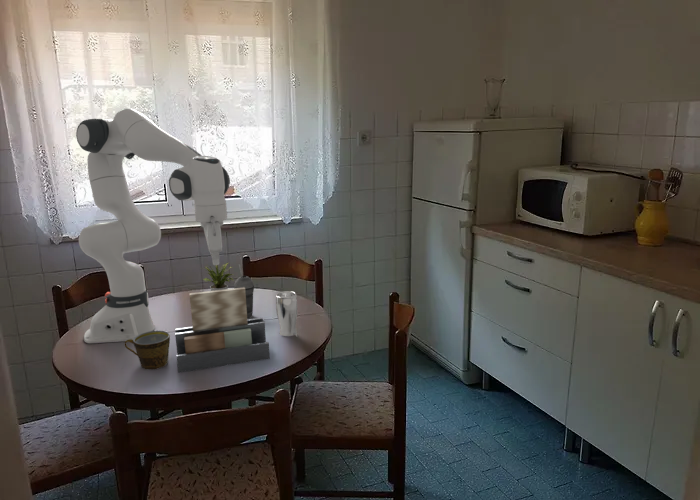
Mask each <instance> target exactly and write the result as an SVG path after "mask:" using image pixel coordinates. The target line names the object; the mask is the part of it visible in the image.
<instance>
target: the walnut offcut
mask: <svg viewBox="0 0 700 500" xmlns="http://www.w3.org/2000/svg"><path fill="white" fill-rule="evenodd" d="M184 341H185V351H186V354H187V353H194V352H201V351H208V350H215V349H222V348H225V339H224V332H219V333H212V334H204V335H197V336H189V337H184Z"/></svg>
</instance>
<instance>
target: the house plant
mask: <svg viewBox="0 0 700 500" xmlns="http://www.w3.org/2000/svg"><path fill="white" fill-rule="evenodd" d="M227 265H229V262H227V263H224V264H222V266H220V268H219V265H214V266H215V270H214V269H213V268H212V267H210V265H208V264H207V265H205V266H204V268H202V267H201V269H203V270H205V271H207V273H206V274H208V275H209V276H210V277H211V279H210V278H208V277H205V278H203V281H206V282H211V283H212V284H211V285H210V286H209V289H210V291H215V290H225V289H229V285H228V284H227V283H225V282H229V283H231V281H234V279H233V277H230V276H234V274H232V273H231V272H230V273H226V272H227V271H228V269H227V267H228V266H227ZM210 268H211V269H210ZM230 268H233V266H230V267H229V269H230Z"/></svg>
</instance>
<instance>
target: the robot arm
mask: <svg viewBox="0 0 700 500" xmlns="http://www.w3.org/2000/svg"><path fill="white" fill-rule="evenodd" d="M75 134H76V140H77V143H78V145H79V147H80V148H81V149H82V150H83V151H85V152H88V155H87V174H88V179H89V183H90V184H89V185H90V188H91V192H92V197H93V202H94V204H95V206H97V208H98V209H99V210H101V211H103V212H107V213H110V214H112V215H113V216H114V217H115V218H116V219H117V220H115V221H107V222H99V223H98V222H97V223H95V224H94V223H93V224H91V225H87V226H86V227H83V229H81V231H80V233H79V236H78V246H79V247H80V250H81V251H82V252H83V253H84V254H85V255H86V256H88V257H90V258H92V259H93V260H95V261H96V262H98V263H99V264H100V266H102V268H104V271H105V273H106V276H107V279H108V285H109V289H110V291H107V292H106V293H105V294H104V303H105V305H104V306H103V307H102V308H101V309H100V310H98V312H96V313H95V314H94V315H93V316H92V318H91V321H90V325H89V326H90V327H89V328H88V329H87V330H86V331H85V333H84V334H83V341H84V343H87V344H98V343H99V344H100V343H117V342H118V343H119V342H126V341H127V340H129V339H132V340H133V339H134V338H135V337H136V336H138V335H140V334H142V333H145V332H150V331H155V330H156V325H155V323H154V321H153V318H152V315H151V311H150V308H149V303H150V300H149V294H148V290H147V289H146V282H145V280H146V279H145V273H144V269H143V268H142V267H141V266H140V265H139V264H137V263H135V262H132V261H129V260H125V258H124V255H125V254H127V253H132V252H139V251H145V250H146V249H151V248H153V247H155V246H157V245H159V242H160V241H161V238H162V230H161V226H160V225H159V223H158V222H157V220H155V219H153V218H152V217H149V216H147V214H145V213H144V212H142V211H141V210H140V209H139V208H138V206H137V205H136V204H135V202H134V200H133V199H132V196H131V192H130V189H129V186H128V182H127V178H126V175H125V171H124V168H123V167H124V166H123V162H124V161H123V160H124V159H127V160H132V159H133V158H134V156H136V157H138V158H140V159H141V160H145V161H149V162H161V163H163V162H166V163H174V164H178V165H181V166H182V167H180V168H177V169H174V170H173V171H172V172H171V174H170V175H169V179H168V186H169V191H170V193H171V194H172V196H174V198H175V199H177V200H178V201H183V202H184V201H185V202H188V201H189V202H190V201H193V202H194V203H193V206H194V207H193V208H194V218H195V222H198V223H200V227H201V228H203V232H204V237H205V240H206V244H207V249H208V251H209V253H210V257H211V258H212V259H211V260H212V265H213V266H215V265H216V266H217V265H218V266H219V265H220V253H221V252H223V238H222V236H223V235H222V229H221V228H222V226H223V225H224V221H226V220H228V211H227V209H228V208H227V200H226V198H225V195H226V193H227V192H228V190H229V189H230V185H231V178H230V175H229V173H228V171H227V170H226V169H225V167H223V166H222V163H221V161H220V159H218V158H217V157H215V156H211V155H202V154H201V153H199V151H196V149H194V148H193V147H192V146H190V145H188V143H185V142H184V141H182V140H180V139H179V138H176V137H175V136H172V135H171V134H169V133H168V132H166V131H165V130H164V129H161V128H160V127H159V126H158V125H156V124H155V122H153V121H152V120H151V119H149V118H148V117H147V116H146V115H145V114H143V113H141V112H140V111H137V110H136V109H134V108H124V109H120V110H119V111H118V112H116V113H115V115H114V117H113V119H102V118H87V119H84V120H82V121H81V122H80V123H79V124H78V126H77V128H76V133H75Z"/></svg>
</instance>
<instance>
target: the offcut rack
mask: <svg viewBox="0 0 700 500" xmlns="http://www.w3.org/2000/svg"><path fill="white" fill-rule="evenodd" d="M247 322H248V324H241V325H234V326H226V327H219V328H211V329H203V330H196V331H193V326H187V327H178V328H175V333H174V335H175V336H174V337H175V345H176V363H177V373H185V372H186V373H187V372H193V371H197V370H198V371H200V370H205V369H212V368H219V367H225V366H231V365H233V366H234V365H237V364H244V363H252V362H258V361H264V360H271V359H270V343H269V341H266V339H267V338H266V322H265V321H264V318H263V317H257V318H248V319H247ZM248 328H250V329H251V337H252V344H250V345H243V346H236V347H229V348H222V349H215V350H208V351H201V352H194V353H187V354H186V351H185V341H184V337H189V336H197V335H204V334H212V333H219V332H226V331H233V330H241V329H248Z"/></svg>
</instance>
